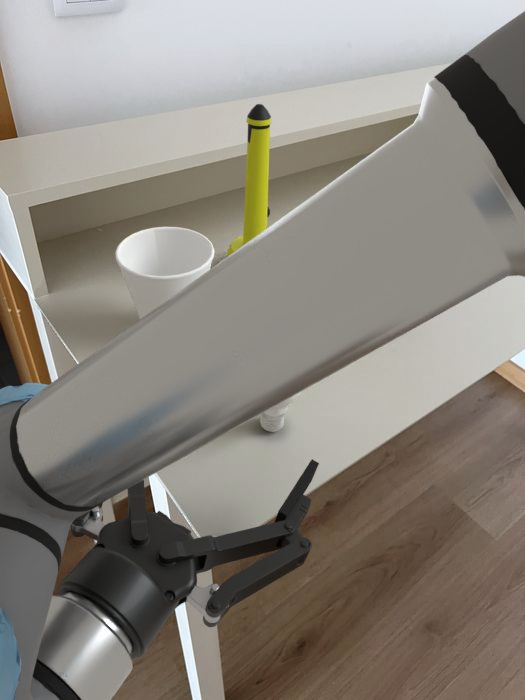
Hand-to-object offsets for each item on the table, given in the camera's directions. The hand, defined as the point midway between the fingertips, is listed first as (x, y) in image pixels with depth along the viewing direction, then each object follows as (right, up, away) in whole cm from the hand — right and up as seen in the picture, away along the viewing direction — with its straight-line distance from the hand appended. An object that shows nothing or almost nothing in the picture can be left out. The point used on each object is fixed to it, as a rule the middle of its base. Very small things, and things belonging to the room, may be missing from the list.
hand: (248, 433), depth 55 cm
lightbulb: (+2, -1, +11) cm, 12 cm away
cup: (-11, +10, +24) cm, 28 cm away
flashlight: (0, +20, +35) cm, 41 cm away
